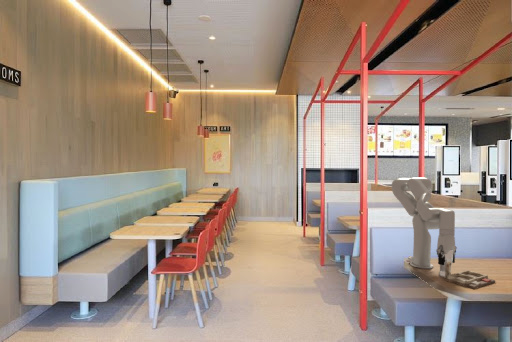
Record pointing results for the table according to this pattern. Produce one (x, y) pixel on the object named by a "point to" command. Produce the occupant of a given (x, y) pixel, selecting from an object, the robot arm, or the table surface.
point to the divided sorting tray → (469, 279)
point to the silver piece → (446, 264)
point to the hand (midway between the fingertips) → (446, 263)
